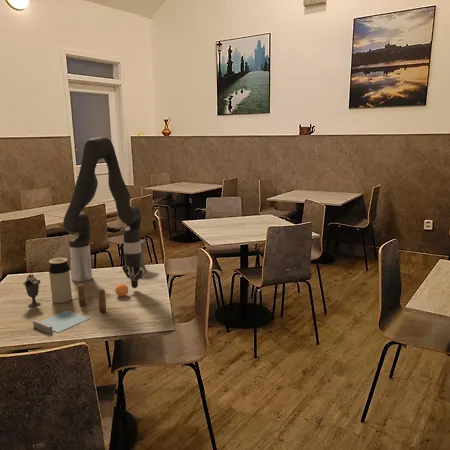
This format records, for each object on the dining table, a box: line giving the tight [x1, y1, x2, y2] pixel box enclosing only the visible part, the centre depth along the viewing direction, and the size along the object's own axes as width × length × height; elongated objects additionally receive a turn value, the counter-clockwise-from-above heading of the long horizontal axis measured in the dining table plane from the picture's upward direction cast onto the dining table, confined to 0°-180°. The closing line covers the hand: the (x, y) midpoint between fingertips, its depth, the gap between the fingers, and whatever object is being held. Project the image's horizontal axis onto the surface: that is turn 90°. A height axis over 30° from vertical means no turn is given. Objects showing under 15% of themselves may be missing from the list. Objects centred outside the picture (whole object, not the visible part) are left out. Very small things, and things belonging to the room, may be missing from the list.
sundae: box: [22, 269, 42, 308], centre depth 176 cm, size 7×7×15 cm
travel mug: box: [48, 257, 73, 304], centre depth 181 cm, size 8×8×18 cm
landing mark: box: [39, 310, 91, 334], centre depth 161 cm, size 14×14×1 cm
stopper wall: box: [32, 319, 53, 335], centre depth 154 cm, size 10×1×2 cm, turn 56°
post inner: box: [77, 283, 87, 307], centre depth 175 cm, size 3×3×9 cm
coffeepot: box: [119, 239, 148, 270], centre depth 219 cm, size 15×9×18 cm, turn 129°
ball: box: [114, 283, 129, 298], centre depth 185 cm, size 6×6×6 cm
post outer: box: [97, 289, 107, 314], centre depth 168 cm, size 3×3×9 cm
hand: (134, 287), depth 192 cm, fingers closed
